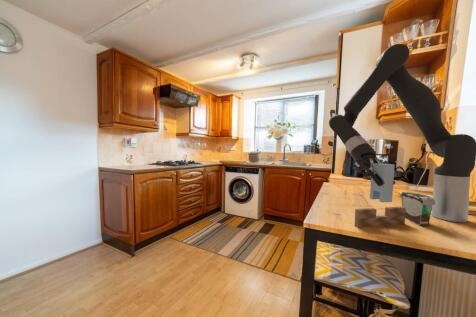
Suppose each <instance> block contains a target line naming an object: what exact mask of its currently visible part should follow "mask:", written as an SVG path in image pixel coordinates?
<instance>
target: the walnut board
mask: <svg viewBox="0 0 476 317" xmlns="http://www.w3.org/2000/svg"><path fill="white" fill-rule="evenodd" d="M405 211H406V208H405V207H402V205H401V206H386V207H384V215H377V209H376V208H374V207H367V208H366V207H365V208H355V210H354V226H355V227H357V228H367V227H380V226H381V227H382V226H392V225H404V224H405V223H406V219H405Z"/></svg>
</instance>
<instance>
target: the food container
mask: <svg viewBox="0 0 476 317" xmlns="http://www.w3.org/2000/svg"><path fill="white" fill-rule="evenodd" d="M400 197H401V206H402V207H405V208H406V211H405V220H407V221H409V222H411V223H413V224H415V225H417V226H419V227H428V226H429V225H430V220H431V216H432V205H435V200H434V199H433V196H431V195H427V194H421V193H417V192H407V191H402V192H401V193H400Z"/></svg>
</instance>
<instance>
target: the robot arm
mask: <svg viewBox="0 0 476 317" xmlns="http://www.w3.org/2000/svg"><path fill="white" fill-rule="evenodd" d="M410 52H411V51H410V48H409V46H408V45H406V44H404V43H396V44H393V45H391V46H389V47H387V48H386V49H385V50H384V51H383V52H382V53H381V54H380V56H379V57H378V58H377V60H376V63H375V68H374V69H373V71H372V72H371V74H370V75H369V76H368V78H366V80H365V81H364V82H363V83H362V84H361V85H360V86H359V88H357V89H356V91H355V92H354V93H353V95H352V96H351V97H350V98H349V100H348V101H347V102H346V103H345V105H344V106H343V111H344V114H339V113H338V114H334V115H331V117H330V118H329V119H328V120H329V121H328V125H329V127H330V129H331V130H332V131H333V132H334V133H335V135H337V137H338V138H339V139H340V141H341V142H342V144H343V145H344V146H345V148H346V150H347V152H348V153H349V154H350V156H351V157H352V159H353V160H354V161H355V163H353V166H354V168H356V170H358V172H360V173H361V174H362V175H363V176H364V177H370V179H371V178H372V179H373V180H374V181H375V183H376V184H377V185H378V186H382V185H383V184H384V181H383V180H382V179H381V177H380V176H379V175H378V174H377V172H376V170H375V167H374V166H373V165H372V163H380V164H390V163H389V161H387V160H384V161H381V160H380V159H379V158H378V157H377V151H376V150H375V149H374V148H373V147H372V146H371V144H370V143H369V142H368V141H367V139H365V138H364V136H362V135H361V134H360V132H358V131H357V129H356V128H354V125H355V123H356V121H357V119H358V117H359V114H361V112H362V111H363V109H364V108H365V107H366V106H367V105H368V104H369V102H370V101H371V99H372V98H373V97H374V96H375V95H376V94H377V93H378V91H379V89H380V88H381V87H382V86H383V84H384V83H385V82H387V84H388V85H390V87H391V88H392V90H393V92H394V93H395V95H396V96H397V98H398V99H399V101H400V102H401V104H402V105H403V107H404V108H405V110H406V111H407V113H408V115H410V117H411V118H412V120H413V121H414V122H415V124H416V125H417V127H418V128H419V131H421V132H422V135H423V137H424V139H425V141H426V143H427V146H429V149H430V150H431V152H432V153H433V154H434V155H435V156H437V157H439V158H442V159H443V160H442V163H441V164H440V165H438V166H436V167H435V168H434V171H433V172H434V174H433V175H434V176H433V188H432V189H433V192H432V197H433V199H434V200H435V205H432V210H431V216H432V217H434V218H437V219H440V220H444V221H448V222H455V223H468V221H469V205H470V184H471V174H472V172H473V171H474V168H475V166H476V139H475V138H474V137H473V136H471V135H469V134H464V133H460V134H459V133H458V134H457V133H456V134H451V133H450V132H449V131H448V129H447V128H446V127H445V125H444V123H443V120H442V107H441V103H440V101H439V98H438V97H437V96H436V94H435V93H434V91H433V90H432V89H431V87H429V86H428V85H426V84H425V83H423V82H422V81H419V80H418V79H417V78H415V77H414V76H413V75H411V73H410V72H409V71H408V70H407V68H406V67H405V64H406V62H407V61H408V60H409V58H410ZM394 185H396V181H395V180H394V181H393V186H394Z"/></svg>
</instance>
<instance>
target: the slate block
mask: <svg viewBox="0 0 476 317" xmlns="http://www.w3.org/2000/svg"><path fill="white" fill-rule="evenodd" d="M372 165H373V166H374V167H375V170H376V172H377V174H378V175H379V176H380V177H381V179H382V180H383V181H384V184H383V185H382V186H378V185H377V184H376V183H375V181H374V180H373V179H372V178H370V189H369V199H370V200H379V202H380V203H392V202H393V194H394V192H393V190H394V185H393V181H395V179H394V177H395V164H391V163H389V164H380V163H372Z"/></svg>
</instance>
